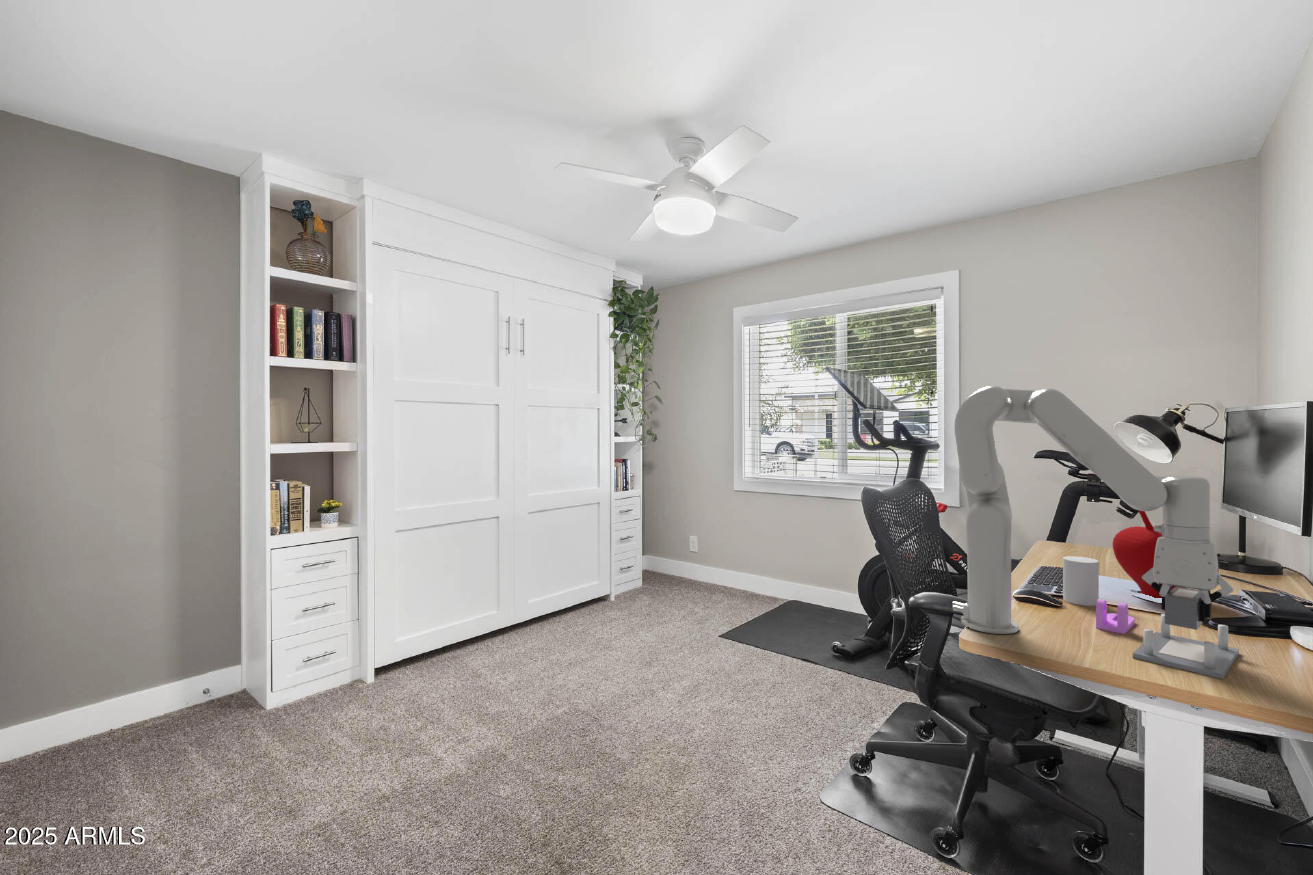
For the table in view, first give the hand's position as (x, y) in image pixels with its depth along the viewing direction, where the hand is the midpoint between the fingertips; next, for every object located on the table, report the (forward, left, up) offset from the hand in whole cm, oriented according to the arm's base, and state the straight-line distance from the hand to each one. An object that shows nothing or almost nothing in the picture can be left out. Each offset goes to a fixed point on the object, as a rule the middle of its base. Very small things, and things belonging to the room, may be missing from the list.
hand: (1185, 616), depth 125 cm
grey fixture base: (0, 0, -9) cm, 9 cm away
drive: (0, 0, -1) cm, 1 cm away
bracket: (-15, +13, -9) cm, 22 cm away
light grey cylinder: (-27, +29, -9) cm, 41 cm away
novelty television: (-13, +48, -9) cm, 50 cm away
